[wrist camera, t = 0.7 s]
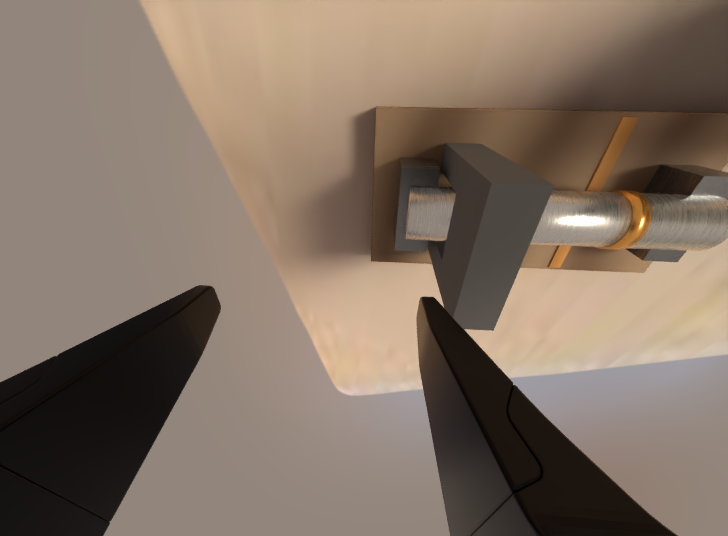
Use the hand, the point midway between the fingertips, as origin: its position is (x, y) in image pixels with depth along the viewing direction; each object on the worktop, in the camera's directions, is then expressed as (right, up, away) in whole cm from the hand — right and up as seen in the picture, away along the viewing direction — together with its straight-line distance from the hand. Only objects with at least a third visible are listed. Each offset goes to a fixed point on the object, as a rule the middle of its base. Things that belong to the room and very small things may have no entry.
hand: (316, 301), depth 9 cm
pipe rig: (+12, +5, +8) cm, 16 cm away
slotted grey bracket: (+7, +5, +8) cm, 12 cm away
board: (+12, +6, +10) cm, 17 cm away
